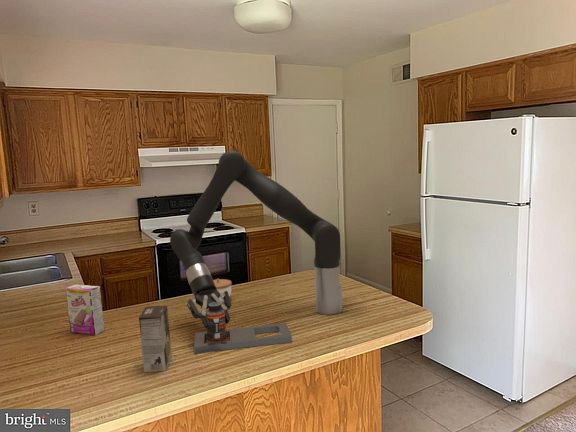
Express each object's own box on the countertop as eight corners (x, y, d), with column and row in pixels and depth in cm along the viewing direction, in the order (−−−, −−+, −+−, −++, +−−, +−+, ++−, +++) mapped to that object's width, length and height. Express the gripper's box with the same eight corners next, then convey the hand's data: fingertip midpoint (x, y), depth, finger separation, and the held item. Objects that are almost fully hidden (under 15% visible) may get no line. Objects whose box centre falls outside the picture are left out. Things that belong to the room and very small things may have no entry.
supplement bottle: (222, 342, 135) (220, 307, 133) (204, 341, 136) (201, 306, 135) (229, 334, 141) (226, 300, 139) (211, 333, 142) (209, 300, 140)
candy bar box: (69, 333, 152) (64, 288, 150) (80, 327, 157) (75, 283, 155) (95, 336, 149) (89, 289, 147) (105, 330, 153) (100, 285, 151)
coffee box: (150, 358, 130) (145, 306, 128) (172, 356, 131) (167, 304, 129) (143, 372, 121) (137, 317, 119) (166, 370, 122) (161, 315, 120)
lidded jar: (221, 306, 172) (219, 283, 171) (200, 303, 178) (199, 281, 177) (237, 298, 181) (236, 276, 180) (218, 295, 187) (216, 274, 186)
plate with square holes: (286, 328, 148) (285, 322, 147) (291, 342, 137) (291, 336, 136) (195, 338, 143) (195, 332, 143) (194, 353, 132) (193, 347, 132)
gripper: (182, 278, 138) (199, 325, 130) (223, 269, 146) (242, 313, 138) (177, 290, 143) (194, 336, 135) (217, 281, 151) (235, 324, 143)
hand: (218, 324), depth 136 cm, fingers closed on supplement bottle, 6 cm apart
